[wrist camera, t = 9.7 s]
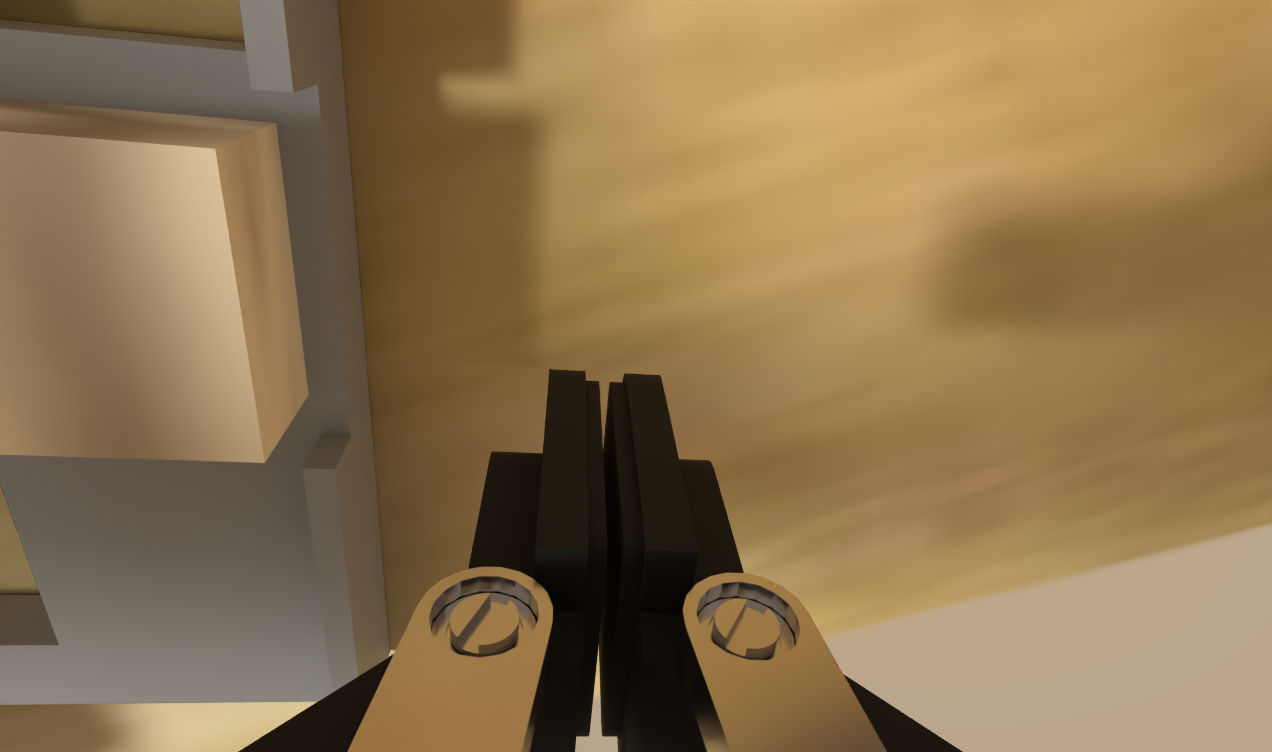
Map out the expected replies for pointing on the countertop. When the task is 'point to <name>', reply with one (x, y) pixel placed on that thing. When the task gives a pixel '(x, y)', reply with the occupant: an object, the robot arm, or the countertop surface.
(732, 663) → the robot arm
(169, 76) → the board
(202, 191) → the beech block
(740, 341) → the countertop surface
